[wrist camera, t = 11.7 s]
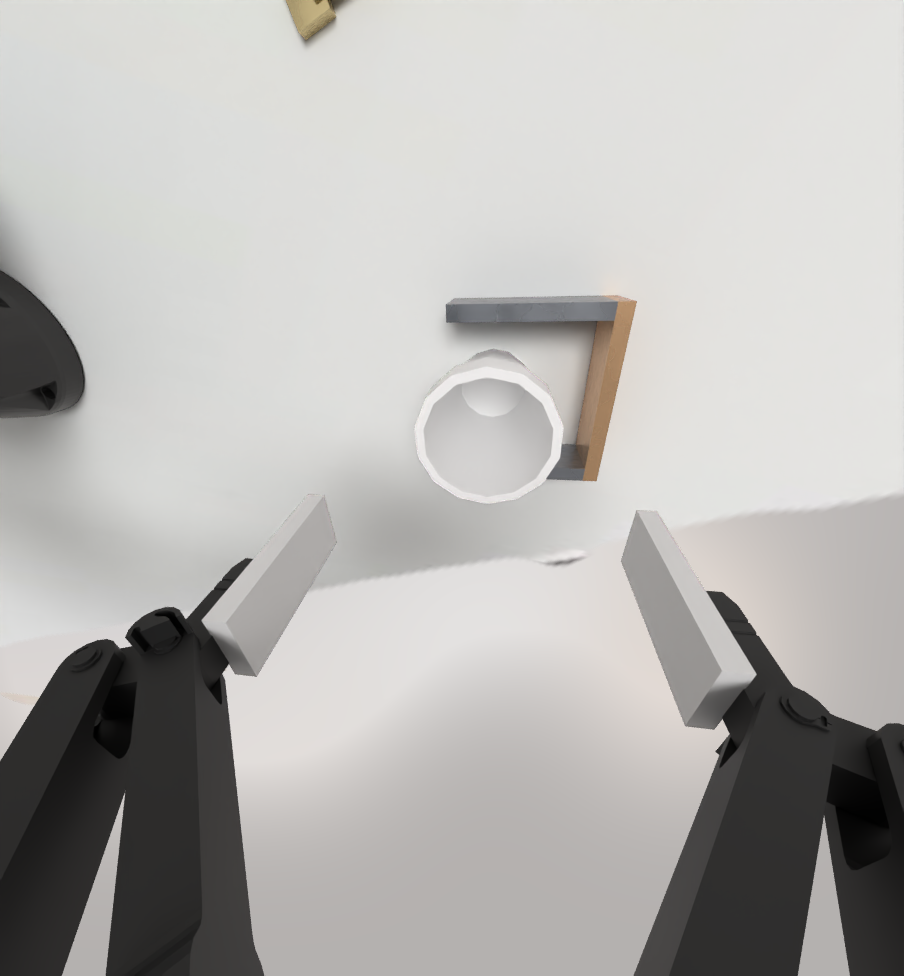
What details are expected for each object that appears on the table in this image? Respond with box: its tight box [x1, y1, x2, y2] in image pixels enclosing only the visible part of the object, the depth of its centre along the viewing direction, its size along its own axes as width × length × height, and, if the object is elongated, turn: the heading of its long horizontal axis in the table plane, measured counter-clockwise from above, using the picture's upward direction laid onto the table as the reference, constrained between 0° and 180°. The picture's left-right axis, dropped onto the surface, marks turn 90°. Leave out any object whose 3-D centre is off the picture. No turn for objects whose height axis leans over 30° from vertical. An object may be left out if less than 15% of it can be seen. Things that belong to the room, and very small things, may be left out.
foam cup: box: [414, 349, 564, 504], centre depth 28 cm, size 10×9×13 cm
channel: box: [446, 296, 637, 481], centre depth 31 cm, size 13×14×5 cm
